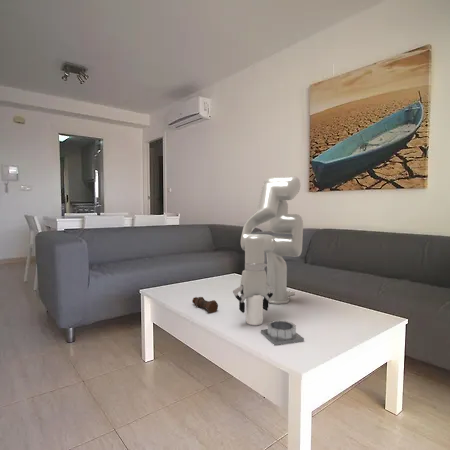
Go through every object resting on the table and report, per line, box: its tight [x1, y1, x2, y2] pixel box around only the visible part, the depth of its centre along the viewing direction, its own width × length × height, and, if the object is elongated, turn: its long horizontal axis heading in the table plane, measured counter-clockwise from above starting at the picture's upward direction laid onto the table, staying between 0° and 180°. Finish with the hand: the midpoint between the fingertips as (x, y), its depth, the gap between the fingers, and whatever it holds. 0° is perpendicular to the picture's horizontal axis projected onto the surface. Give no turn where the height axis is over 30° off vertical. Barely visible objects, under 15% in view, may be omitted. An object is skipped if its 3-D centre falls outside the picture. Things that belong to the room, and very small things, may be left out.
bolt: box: [191, 296, 219, 314], centre depth 137 cm, size 6×5×15 cm
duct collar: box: [260, 320, 305, 346], centre depth 106 cm, size 11×11×4 cm
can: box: [245, 294, 264, 327], centre depth 119 cm, size 6×6×12 cm
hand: (253, 310), depth 119 cm, fingers open, 9 cm apart
